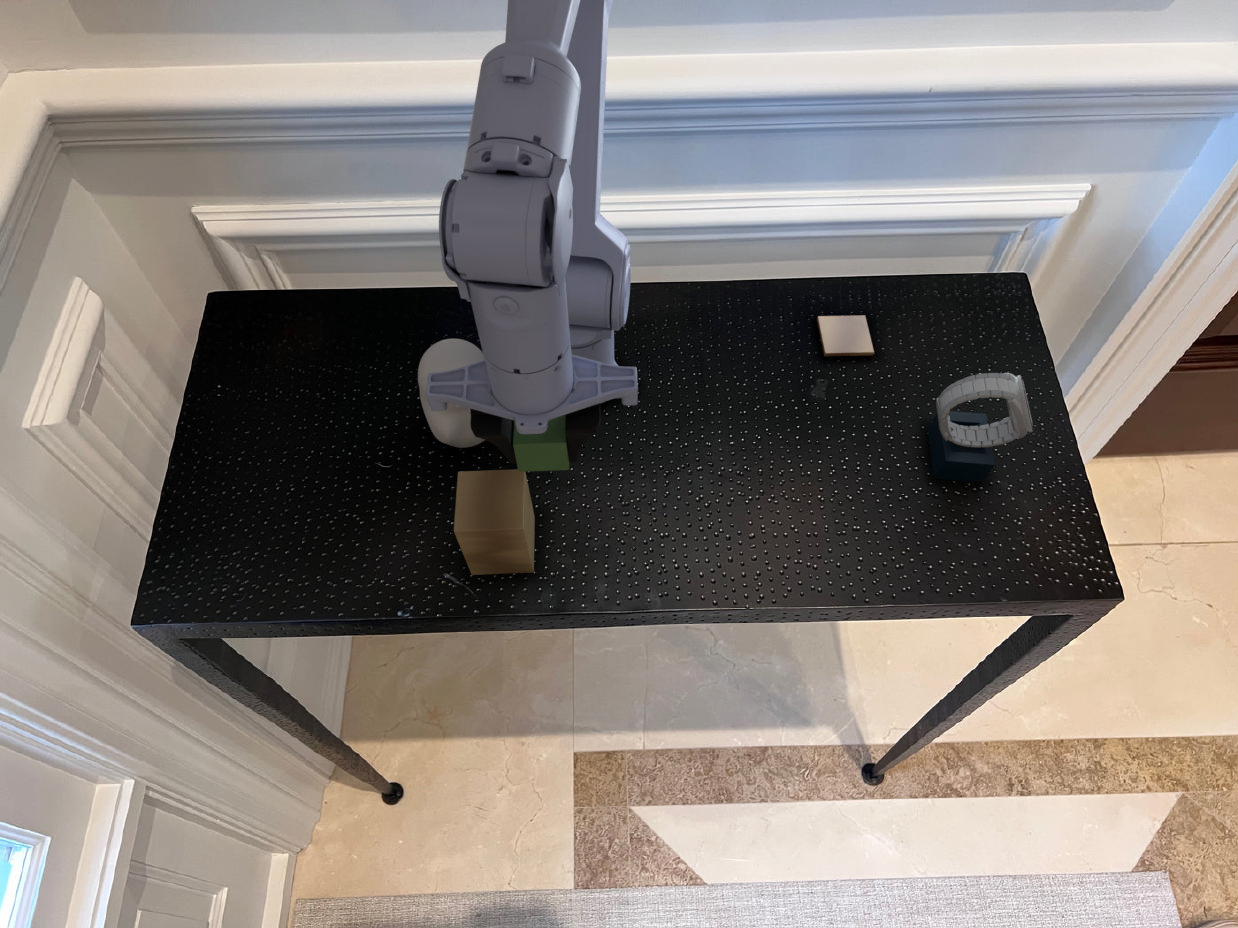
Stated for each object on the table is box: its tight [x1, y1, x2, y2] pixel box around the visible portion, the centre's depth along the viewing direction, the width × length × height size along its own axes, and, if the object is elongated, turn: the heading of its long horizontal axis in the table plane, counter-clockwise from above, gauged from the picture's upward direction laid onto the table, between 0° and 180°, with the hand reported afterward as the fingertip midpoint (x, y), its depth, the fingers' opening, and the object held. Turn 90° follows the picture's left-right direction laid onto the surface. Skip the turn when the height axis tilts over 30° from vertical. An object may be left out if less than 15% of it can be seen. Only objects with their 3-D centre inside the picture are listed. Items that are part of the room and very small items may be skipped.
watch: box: [927, 372, 1034, 483], centre depth 69 cm, size 6×8×11 cm
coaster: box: [816, 314, 875, 357], centre depth 81 cm, size 5×5×1 cm
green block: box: [513, 415, 570, 472], centre depth 61 cm, size 4×4×4 cm
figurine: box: [417, 338, 486, 449], centre depth 71 cm, size 7×8×12 cm
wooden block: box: [453, 468, 536, 576], centre depth 66 cm, size 5×5×8 cm
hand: (543, 451), depth 62 cm, fingers closed on green block, 4 cm apart
